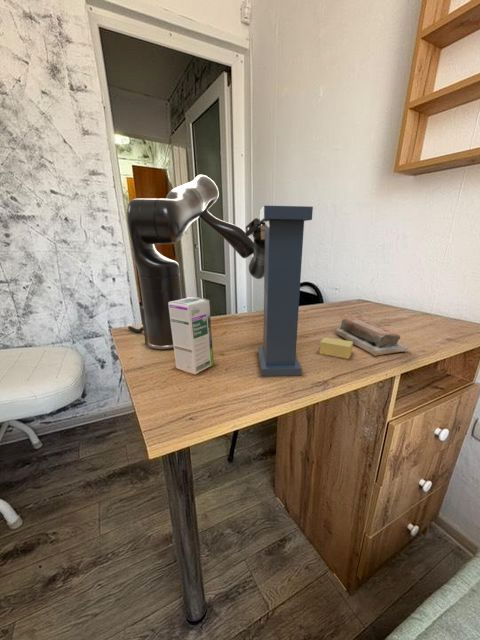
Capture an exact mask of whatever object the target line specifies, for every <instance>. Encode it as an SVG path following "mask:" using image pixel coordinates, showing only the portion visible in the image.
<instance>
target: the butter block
mask: <svg viewBox="0 0 480 640" xmlns="http://www.w3.org/2000/svg"><path fill="white" fill-rule="evenodd" d="M353 348H354V344H353V342H352V341H348V340H346V339H338V338H333V337H327V336H324V337H323V338H322V339H321V340H320V342H319V352H318V354H321V355H324V356H325V355H326V356H331V357H336V358H341V359H345V360H346V359H347V360H349V359H350V357H351V355H352V353H353Z"/></svg>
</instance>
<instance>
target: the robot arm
mask: <svg viewBox="0 0 480 640" xmlns="http://www.w3.org/2000/svg"><path fill="white" fill-rule="evenodd" d="M219 195H220V193H219V188H218V185H216V183H215V181H214V180H212V178H210V177H208V175H206V174H205V175H204V174H198V175H197V176H196V177H194V179H193V180H191V181H189V182H187V183H186V182H185V183H184V184H182V185H179V186H177V187H174V188H173V189H171V190H170V191H169V192H168V193H167V195H166V197H165V198H149V197H148V198H147V197H145V198H141V197H140V198H139V197H138V198H132V199H131V200H130V201H129V202H128V204H127V206H126V207H127V208H126V221H127V228H128V233H129V237H130V242H131V248H132V253H133V258H134V263H135V266H136V268H137V273H138V279H139V280H138V281H139V286H140V294H141V301H142V302H141V303H142V306H140V315H141V316H140V317H141V322H142V327H139V328H135V327H133V326H130V325H129V326H128V327H127V329H128V330H130V331H132V332H133V333H137V334H141V333H143V337H144V343H145V345H147V346H148V347H149V348H151V349H154V350H174V346H173V338H172V330H171V322H170V314H169V306H168V302H171V301H176V300H180V299H183V294H182V293H183V292H182V281H181V270H180V265H179V262H177V261H176V260H173V259H171V258H169V257H167V256H164V255H163V254H162V253H160V252H159V251H158V250H157V248H156V246H155V245H173V244H176V243H178V242H179V241H180V240H181V239H182V238H183V237H184V235H185V233H186V231H187V230H188V228H189V227H190V226H191V225H192V224H193V223H194V222H195V221H196V220H198V219H201V220H202V221H203V222H204V223H205V224H206V225H207V226H209V227H210V228H211V229H212V230H214V231H215V232H216V233H217V234H218V235H219V236H220V237H222V238H223V239H224V240H225V241H226V242H227V243H228V244H229V245H230V246H231V247H232V248H233V250H234V251H236V253H237V254H238V255H239V256H240V257H241V258H242V259H247V258H249V257H250V256H252V257H251V259H250V261H249V263H248V272H249V274H250V275H251V277H253V278H254V279H256V280H262V279H264V267H265V223H263V221H260V218H257V217H256V218H254V219H252V221H250V222H249V223H248V224H247V225H246V226H245V230H244V229H243V228H242V227H240V226H238V225H237V224H233V223H230V222H227V221H225V220H221V219H220V218H217V217H216V216H214V215H213V214H212V213H211V212H209V209H210V208H211V207H212V206H213V205H214V204H215V203H216V202H217V200H218V199H219ZM250 236H252V237H253V239H252V237H250Z"/></svg>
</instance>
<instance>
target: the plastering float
mask: <svg viewBox="0 0 480 640" xmlns="http://www.w3.org/2000/svg"><path fill="white" fill-rule="evenodd" d="M340 323H341V324H340V328H338V327H336V328H335V329H334V333H335V334H336V335H338V336H339V337H341V338H343V339H344V340H346V341H352V342H353V346H354V345H355V346H357V347H359V349H360V348H361V349H362V350H364V351H366V352H367V353H368V354H371V355H372V356H374V357H376V356H382V355H387V354H393V353H400V352H408V350H409V346H406V345H403V344H401V343H399V340H400V339H401V336H400V335H399V334H398V333H396V332H393V331H391V330H389V329H387V328H384V327H382V326H380V325H378V324H375V323H374V322H371V321H369V320H366V319H365V318H362V317H358V316H355V317H345V318H343V319H342V320H341V322H340Z"/></svg>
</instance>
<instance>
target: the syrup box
mask: <svg viewBox="0 0 480 640" xmlns="http://www.w3.org/2000/svg"><path fill="white" fill-rule="evenodd" d="M168 306H169V314H170V322H171V330H172V338H173V346H174V348H173V353H174V361H175V367H176V369H177V370H179V371H182V372H186V373H188V374H190V375H194V376H196V375H198V374H199V373H201V372H202V371H205V370H206V369H208V368H210V367H213V366H214V365H215V363H214V362H215V361H214V350H213V349H214V348H213V335H212V319H211V305H210V299H207V298H203V297H199V296H197V297H196V296H188V297H185V298H182V299H180V300H176V301H171V302H168Z"/></svg>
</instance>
